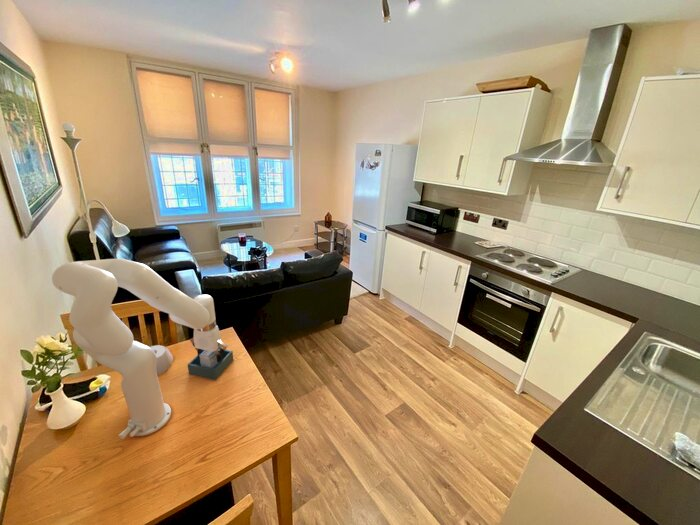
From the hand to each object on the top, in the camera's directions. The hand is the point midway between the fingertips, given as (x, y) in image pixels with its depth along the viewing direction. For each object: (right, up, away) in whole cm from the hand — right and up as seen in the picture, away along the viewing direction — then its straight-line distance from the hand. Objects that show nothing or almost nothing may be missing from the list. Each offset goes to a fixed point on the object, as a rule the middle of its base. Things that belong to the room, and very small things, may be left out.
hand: (210, 357), depth 123 cm
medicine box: (0, -4, +2) cm, 5 cm away
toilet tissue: (-22, -4, 0) cm, 22 cm away
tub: (0, -5, +2) cm, 5 cm away
